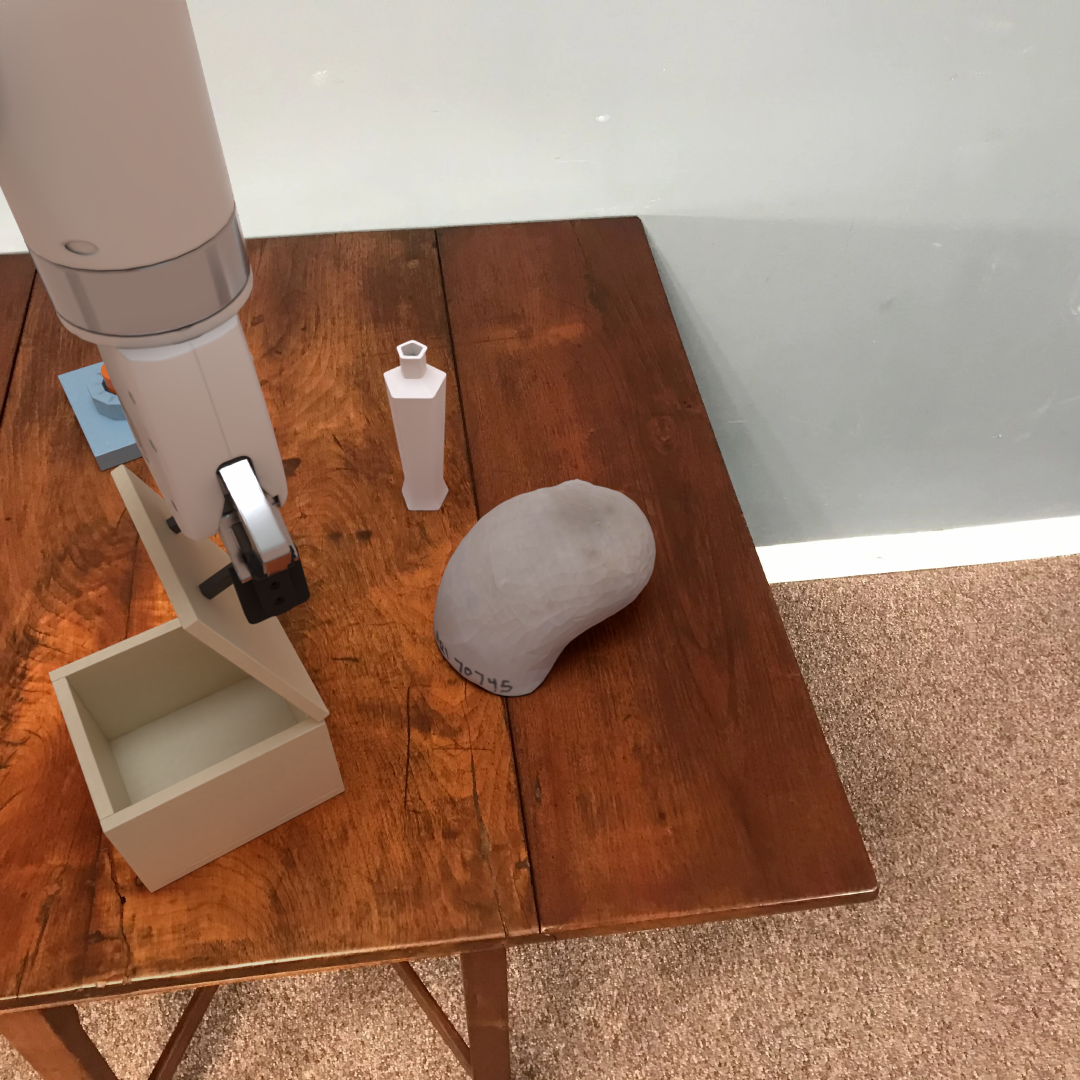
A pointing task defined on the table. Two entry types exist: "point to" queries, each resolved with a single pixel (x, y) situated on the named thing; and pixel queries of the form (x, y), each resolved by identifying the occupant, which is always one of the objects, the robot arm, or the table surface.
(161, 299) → the robot arm
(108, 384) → the button
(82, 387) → the box
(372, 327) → the table surface
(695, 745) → the table surface
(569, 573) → the grey rounded lump
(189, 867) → the chest
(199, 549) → the lid
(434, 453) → the perfume bottle
